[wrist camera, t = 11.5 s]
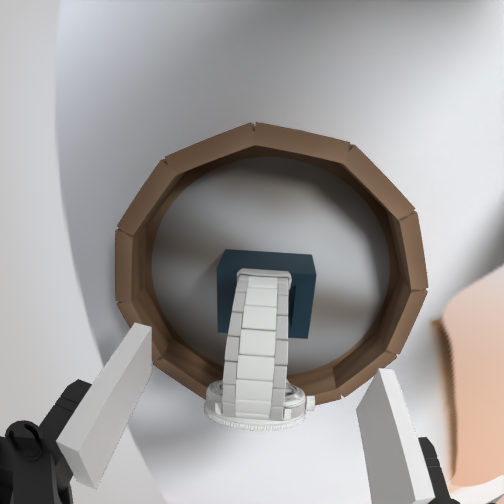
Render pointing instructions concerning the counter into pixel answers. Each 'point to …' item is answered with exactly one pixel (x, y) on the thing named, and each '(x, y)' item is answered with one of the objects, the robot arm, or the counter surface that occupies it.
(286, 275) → the watch
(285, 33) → the counter surface
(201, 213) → the round tray
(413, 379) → the counter surface
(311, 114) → the counter surface
